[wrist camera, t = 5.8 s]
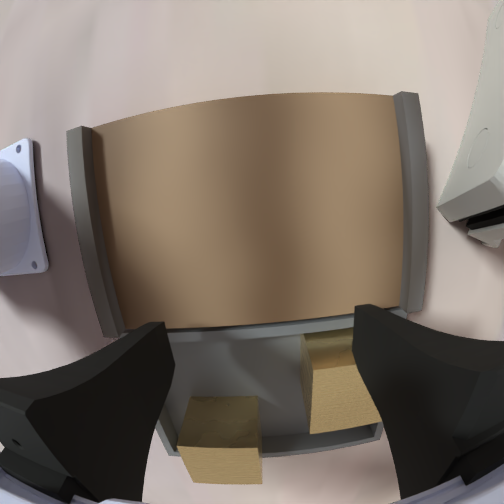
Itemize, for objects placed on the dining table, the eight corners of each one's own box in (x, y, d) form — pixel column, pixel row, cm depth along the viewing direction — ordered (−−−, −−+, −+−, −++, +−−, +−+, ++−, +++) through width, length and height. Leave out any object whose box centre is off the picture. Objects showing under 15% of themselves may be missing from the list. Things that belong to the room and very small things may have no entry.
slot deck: (130, 307, 15) (104, 337, 11) (103, 138, 12) (66, 131, 9) (392, 284, 14) (421, 310, 11) (385, 108, 12) (418, 93, 9)
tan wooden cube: (300, 321, 14) (300, 382, 15) (313, 370, 10) (309, 434, 11) (375, 312, 14) (367, 372, 15) (407, 354, 10) (390, 419, 11)
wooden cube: (190, 396, 16) (202, 436, 16) (176, 445, 12) (193, 482, 13) (257, 395, 15) (261, 436, 16) (257, 447, 11) (262, 483, 12)
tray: (174, 435, 17) (169, 455, 15) (132, 315, 15) (118, 333, 13) (371, 420, 17) (379, 439, 15) (391, 293, 14) (407, 308, 12)
